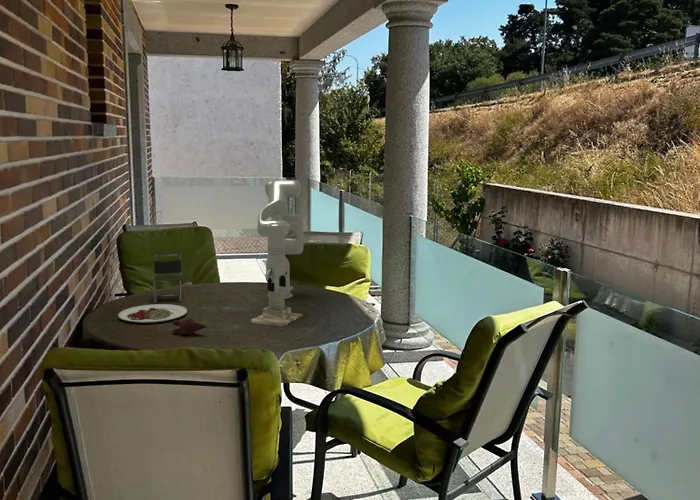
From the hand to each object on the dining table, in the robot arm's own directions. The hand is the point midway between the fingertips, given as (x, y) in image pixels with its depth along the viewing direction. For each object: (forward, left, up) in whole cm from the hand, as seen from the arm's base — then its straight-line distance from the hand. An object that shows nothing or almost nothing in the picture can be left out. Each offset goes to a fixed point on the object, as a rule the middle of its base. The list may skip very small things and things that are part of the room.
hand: (276, 288), depth 291 cm
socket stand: (0, 0, -14) cm, 14 cm away
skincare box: (0, 0, -13) cm, 13 cm away
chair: (-8, -68, -14) cm, 70 cm away
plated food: (+19, -54, -15) cm, 59 cm away
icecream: (+36, -20, -14) cm, 43 cm away
